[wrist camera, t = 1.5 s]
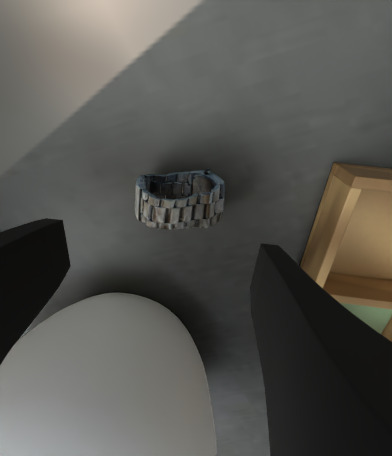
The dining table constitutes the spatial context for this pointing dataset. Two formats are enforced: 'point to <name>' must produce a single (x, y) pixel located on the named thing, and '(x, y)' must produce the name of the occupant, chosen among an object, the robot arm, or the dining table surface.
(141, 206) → the wristwatch
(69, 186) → the dining table surface
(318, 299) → the robot arm
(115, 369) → the vase
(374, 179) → the divided wooden tray
